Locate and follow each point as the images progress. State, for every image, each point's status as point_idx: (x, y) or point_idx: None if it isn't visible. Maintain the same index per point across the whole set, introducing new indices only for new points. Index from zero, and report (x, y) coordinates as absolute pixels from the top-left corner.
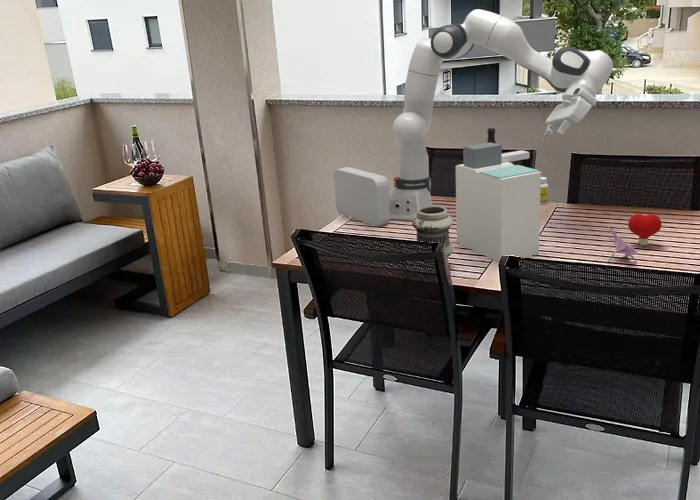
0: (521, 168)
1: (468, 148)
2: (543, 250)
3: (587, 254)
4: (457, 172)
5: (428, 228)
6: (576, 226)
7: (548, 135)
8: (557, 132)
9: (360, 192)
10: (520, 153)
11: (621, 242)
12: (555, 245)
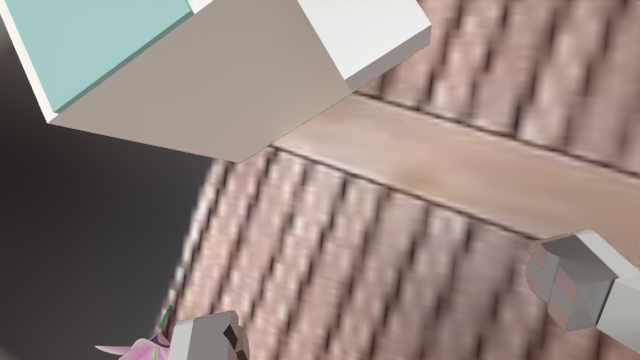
0: (104, 29)
1: None
2: (266, 179)
3: (228, 278)
4: None
5: None
6: (471, 319)
7: (536, 270)
8: (210, 315)
9: None
10: (311, 12)
11: (125, 349)
12: (299, 216)
